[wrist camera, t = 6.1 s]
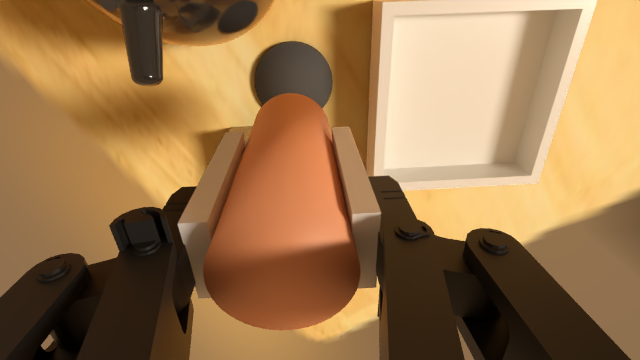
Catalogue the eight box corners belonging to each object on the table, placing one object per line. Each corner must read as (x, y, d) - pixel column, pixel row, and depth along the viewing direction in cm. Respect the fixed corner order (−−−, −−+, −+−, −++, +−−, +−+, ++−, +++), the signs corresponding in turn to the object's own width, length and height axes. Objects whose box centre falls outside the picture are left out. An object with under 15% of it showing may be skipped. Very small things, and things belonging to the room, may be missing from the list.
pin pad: (250, 42, 25) (249, 43, 25) (331, 39, 26) (331, 40, 25) (259, 120, 28) (259, 122, 28) (332, 117, 28) (332, 118, 28)
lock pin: (249, 95, 17) (186, 218, 8) (327, 90, 18) (361, 206, 8) (259, 166, 19) (219, 335, 10) (330, 161, 19) (359, 324, 10)
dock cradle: (373, 0, 24) (382, 2, 22) (564, -7, 25) (599, -6, 22) (365, 173, 31) (372, 192, 28) (516, 165, 32) (537, 183, 29)
